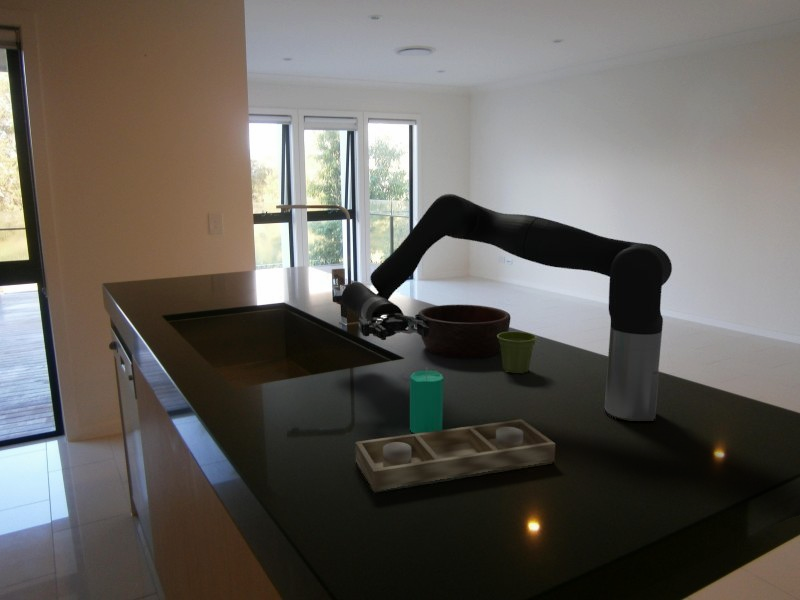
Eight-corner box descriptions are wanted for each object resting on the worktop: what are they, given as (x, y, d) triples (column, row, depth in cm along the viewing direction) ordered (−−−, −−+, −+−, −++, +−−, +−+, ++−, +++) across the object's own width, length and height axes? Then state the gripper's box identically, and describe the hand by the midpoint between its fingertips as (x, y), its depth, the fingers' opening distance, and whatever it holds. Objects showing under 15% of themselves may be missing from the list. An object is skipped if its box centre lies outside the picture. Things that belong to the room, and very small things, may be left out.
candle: (422, 421, 112) (423, 360, 110) (448, 429, 108) (450, 367, 106) (402, 431, 107) (403, 368, 105) (429, 440, 103) (430, 375, 101)
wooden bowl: (408, 358, 153) (409, 320, 151) (427, 335, 177) (427, 302, 175) (506, 365, 148) (507, 325, 146) (511, 341, 171) (513, 306, 170)
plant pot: (506, 378, 138) (507, 342, 136) (489, 366, 147) (490, 332, 145) (542, 374, 140) (544, 339, 139) (523, 363, 149) (525, 330, 148)
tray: (520, 437, 105) (521, 416, 104) (554, 463, 95) (555, 440, 94) (355, 462, 95) (355, 438, 94) (373, 493, 85) (373, 468, 85)
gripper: (350, 300, 127) (370, 317, 112) (412, 297, 132) (439, 313, 117) (350, 334, 129) (370, 354, 114) (411, 330, 133) (438, 349, 118)
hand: (405, 333), depth 115 cm, fingers open, 8 cm apart
